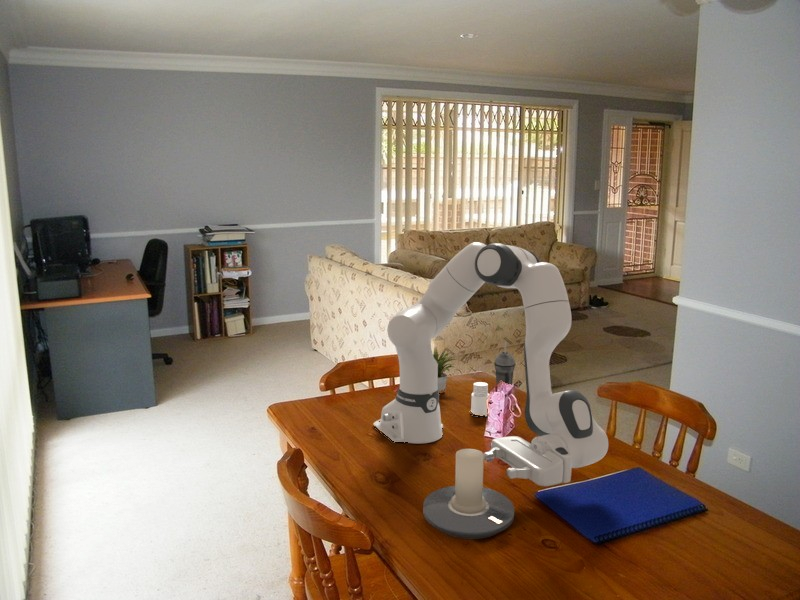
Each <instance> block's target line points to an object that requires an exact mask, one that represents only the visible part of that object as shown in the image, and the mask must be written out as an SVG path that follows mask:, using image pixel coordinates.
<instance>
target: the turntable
mask: <svg viewBox="0 0 800 600" xmlns="http://www.w3.org/2000/svg"><path fill="white" fill-rule="evenodd" d="M454 495H455V485H450V486H445V487H442V488H439V489H437V490H434V491H432V492H430V493H429V494H428V495H427V496H426V497H425V498H424V500H423V505H422V506H423V507H422V511H423V512H422V513H423V517H424V519H425V520H426V522H427V523H428V524H429V525H431V526H432V527H433V528H435V529H437V530H439V531H440V530H441V531H443V532H446V533H449V534H453V535H458V536H466V537H481V536H488V535H493V534H495V535H496V533H497V534H498V533H501V532H503V531H505V530H507V529H508V528H509V527H510V526H511V525H512V524H513V522H514V519H515V507H514V503H513V502H512V501H511V499H509V497H507V496H506V495H505V494H502V493H501V492H499V491H496V490H494V489H491V488H488V487H484V486H483V497H484V498H485V499H486V508H485V510H484V511H482V512H480V513H476V514H465V513H461V512H458V511H456V510H454V509H453V508H452V506H451V499H452V497H453V496H454ZM441 531H440V532H441ZM443 532H442V533H443ZM493 536H494V535H493Z"/></svg>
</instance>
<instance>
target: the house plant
mask: <svg viewBox="0 0 800 600" xmlns="http://www.w3.org/2000/svg"><path fill="white" fill-rule="evenodd" d="M446 350H447V348H445V349H444V350H443V351H442V352H441V353H440V356H439V352H438V348H437V347H433V357H434V359H435V360H436V361H437V364H438V389H439V391H441V390H444V389H445V390H446V385H447V380H448V377H449V376H448V375H449V374H448V373H445V371H448V372H449V373H450V369H449V368H455V365H454V363H448V362H451V361H454V360H455V361H456V360H457V358H453V357H455V354H453V355H449V354H450V353H451V352H452V351H453V350H452V349H451V350H449V351H448V352H446ZM445 352H446V353H445ZM457 355H459V354H456V356H457Z"/></svg>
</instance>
